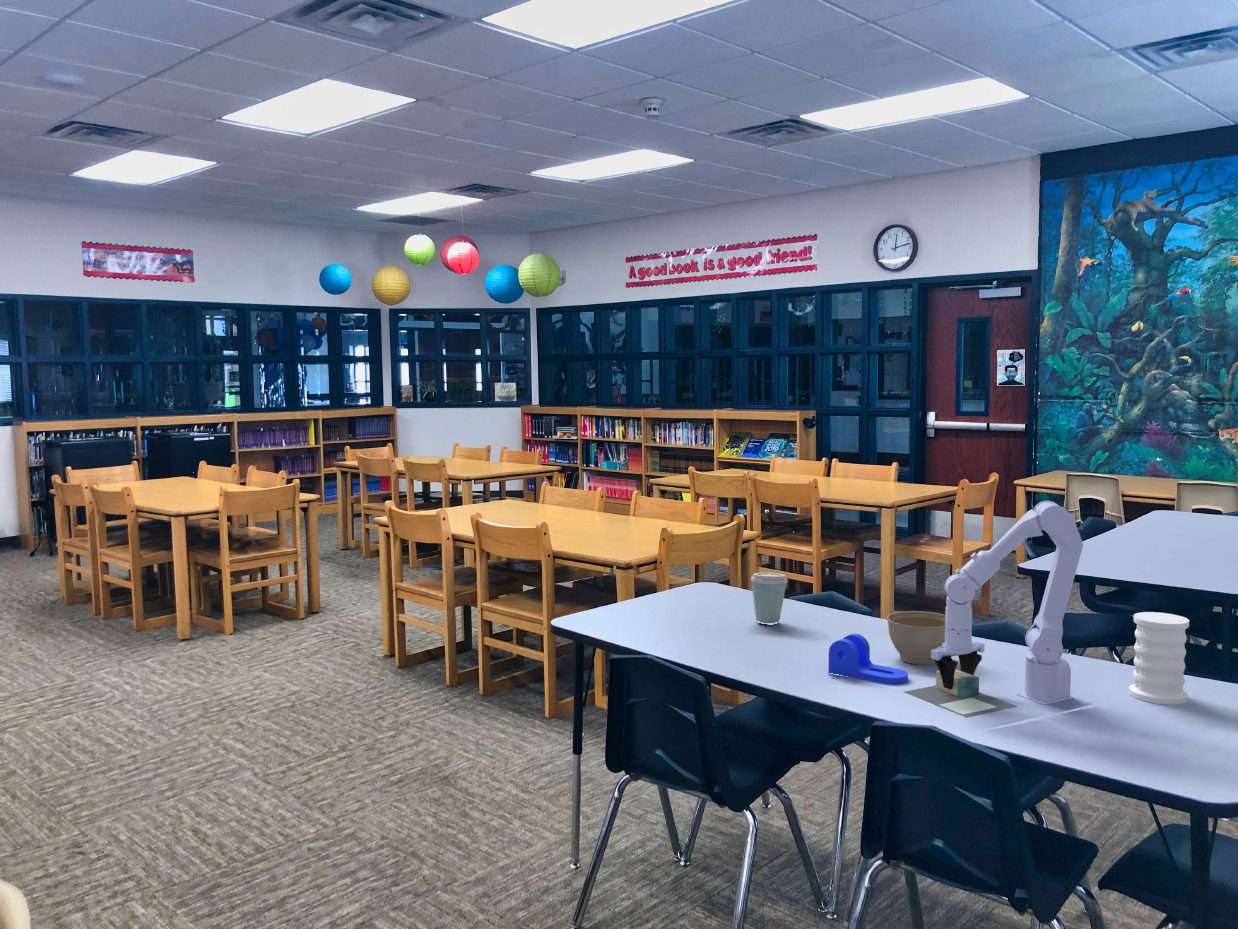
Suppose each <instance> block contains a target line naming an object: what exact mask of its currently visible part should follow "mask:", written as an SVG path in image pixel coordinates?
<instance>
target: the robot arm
mask: <svg viewBox="0 0 1238 929" xmlns="http://www.w3.org/2000/svg"><path fill="white" fill-rule="evenodd" d="M1042 531H1045V532H1046V533H1047V534H1048V536H1049V538H1050V539H1051V541H1052V542H1053V543H1054V544H1055V546H1056V548H1055V552H1054V556H1053V558H1052V559H1053V560H1052V563H1051V568H1050V571H1049V574H1048V578H1047V582H1046V585H1045V589H1044V593H1043V596H1042V601H1041V603H1040V604H1041V605H1040V606H1039V607H1040V608H1039V612H1038V614H1036V617H1035V618H1034V620H1033V623H1032V625H1031V626H1030V628H1029V629H1027V631H1026V634H1025V635H1024V639H1025V643H1026V646H1027V647H1028V648H1029V650H1028V652H1027V653H1026V655H1025V673H1024V674H1025V678H1024V679H1025V680H1024V691H1020V692H1016V693H1015V695H1016V696H1019V697H1021V698H1024V699H1027V700H1030V701H1033V702H1036V703H1038V704H1041V705H1045V706H1047V705H1051V704H1055V703H1059V702H1063V701H1068V700H1073V699H1074V697H1073V696H1072V695H1071V683H1072V682H1071V681H1072V680H1071V679H1072V678H1071V677H1072V670H1071V666H1070V664H1069V663H1068V661H1067V660H1066V659H1065V658H1063V657H1062V655H1063V654H1064V653H1063V652H1064V646H1063V643H1062V641H1063V640H1062V639H1063V635H1064V628H1063V620H1064V616H1065V614H1066V610H1067V606H1068V602H1069V599H1070V596H1071V592H1072V588H1073V583H1074V581H1075V576H1076V574H1077V570H1078V567H1079V566H1078V565H1079V561H1080V558H1081V554H1082V553H1083V552H1082V551H1083V547H1084V543H1083V540H1082V538H1081V534H1080V532H1079V530H1078V526H1077V523H1076V519H1075V518H1074V516H1073V515H1072V514H1071V513H1070V512H1069V511H1068V510H1067V509H1066V508H1065V507H1063V506H1061V505H1059V504H1057V503H1056V502H1055V501H1051V500H1043V501H1039V503H1037V504H1036V505H1034V508H1033V509H1030V510H1028V511H1027V512H1025V513H1024V514H1023V515H1022V516H1021V518H1019V519H1018V521H1017V522H1016V523H1014V525H1013V526H1012V527H1011V528H1010V529H1009V530H1008V531H1007V532H1006V533H1005V534H1004V535H1003V536H1002V537H1001V538H1000V539H999V540H998V541H997V542H996V543H995V544H994V545H993V546H992V547H991V548H990V549H989V550H979V551H978V553H976V552H973V553H972V554H971V555H970V558H971V559H970V560H969V561H968V562H967V563H965V564H964V565H963V566H962V567H961V568H957V569H956V570H955V574H952V575H950V576H949V577H947V579H946V581H945V584H944V585H943V588H944V591H945V593H946V594H947V596H946V598H945V599H946V600H945V603H946V605H945V612H944V613H945V614H944V615H945V643H943V646H941V647H939V648H936V649H933V650H931V658H932V659H934V661H935V663H934V664H936V666H937V668H938V669H937V670H938V671H940V674H941V677H942V681H943V686H944V687H945V688H947V689H952V688H953V684H954V673H955V669H956V670H957V666H958V664H960V665H959V666H960V671H962V672H965V673H968V674H971V675H974V676H975V672H976V670H977V667H978V666H979V664H980V663H981V661H982V659H983V655H982V654H979V653H985V643H983V642H980V641H975V642H973V641H972V640H973V638H972V637H973V635H972V631H973V628H972V627H973V608H972V600H973V599H974V598H975V595H976V590H978V589H980V588H981V587H983V585H984V584H985V583H986V582H987V581H989V580H990V579H991V578H992V577H993V576H994V575H995V574H996V573H997V572H998V571H1000V568H1001V561H1002V560H1003V559H1004V558H1005V557H1006V556H1008V555H1009V554H1010V553H1011V552H1013V551H1014V550H1015V549H1016V548H1017V547H1018V546H1020V545H1021V544H1022V543H1023V542H1024V541H1026V540H1027V539H1029V538H1033V537H1034V538H1035V537H1042V536H1044V533H1043V532H1042ZM957 656H958V661H959V662H958V661H956V660H954V659H953V658H952V657H957Z"/></svg>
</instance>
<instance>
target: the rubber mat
mask: <svg viewBox="0 0 1238 929" xmlns="http://www.w3.org/2000/svg"><path fill="white" fill-rule="evenodd" d="M903 693H904V694H907V695H910V696H911V697H912V696H913V697H914V698H917V699H920V700H921V701H924V702H927V703H930V704H932V705H934V706H936V707H939V708H942V709H945V710H947V711H949V712H951V713H954V714H956V715H959V716H962V717H963V718H971V717H977V716H981V715H986V714H989V713H995V712H998V711H1003V710H1008V709H1012V708H1016V707H1018V706H1017V705H1016V704H1013V703H1009V702H1007V701H1004V700H1002V699H999V698H996V697H993V696H991V695H988V694H986V693H982V692H980V691H979V695H976V696H971V697H966V698H960V697H958V696H955V695H953V694H950V693H948V692H945V691H942V690H940V689H937V688H936V684H935V685H931V686H926V687H921V688H916V689H915V688H914V689H910V690H904V691H903Z"/></svg>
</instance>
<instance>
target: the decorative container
mask: <svg viewBox="0 0 1238 929" xmlns="http://www.w3.org/2000/svg"><path fill="white" fill-rule="evenodd" d="M1133 623H1135V624H1136V629H1135V631H1134V637H1135V639H1136V640H1135V644H1134V645H1133V646H1134V647H1133V648H1134V652H1135V656H1134V658H1133V665H1134V666H1135V668H1134V670H1133V673H1132V676H1133V679H1134V683H1132V684H1131V685H1129V687H1128V694H1129V696H1130V697H1132V696H1133V698H1134V699H1136V698H1137V700H1138V701H1142V700H1143V701H1142V702H1145V701H1146V703H1150V702H1152V703H1151V704H1155V703H1158V704H1157V705H1163V704H1164V706H1165V705H1166V706H1178V705H1177V704H1179V705H1184V704H1186V703H1187V702H1188V701H1189V700H1188V696H1189V694H1188V692H1186V691H1185V690H1183V689H1184V685H1185V682H1186V680H1185V676H1184V672H1185V670H1186V663H1185V657H1186V655H1187V650H1186V648H1185V647H1186V646H1185V644H1186V642H1187V635H1186V630H1187V629H1188V628H1190V619H1188V618H1187V617H1185V616H1183V615H1182V616H1181V615H1177V614H1173V613H1166V612H1159V611H1158V612H1155V611H1143V612H1136V613H1134V614H1133ZM1187 700H1188V701H1187ZM1183 703H1184V704H1183Z"/></svg>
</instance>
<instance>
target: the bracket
mask: <svg viewBox="0 0 1238 929" xmlns="http://www.w3.org/2000/svg"><path fill="white" fill-rule="evenodd" d="M870 650H871V648H870V644H869V642H868V640H867V639H866V638H865V637H864V636H863V635H862V634H859V633H850V634H848V635H846V636H844V637H843V638H840V639H838V640H836V641H834V642H832V643H831V645H830V646H829V648H828V674H829V673H833V674H839V675H843V676H848V677H847V678H849V677H850V678H854V679H858V680H866V681H868V682H869V681H870V682H876V683H880V684H886V685H901V684H906V683H907V682H908V680H909V673H908V672H907V671H906V670H903V669H901V668H896V667H890V666H886V665H880V664H875V663H872V661H871V658H870V657H871V654H870V653H871V651H870Z"/></svg>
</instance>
